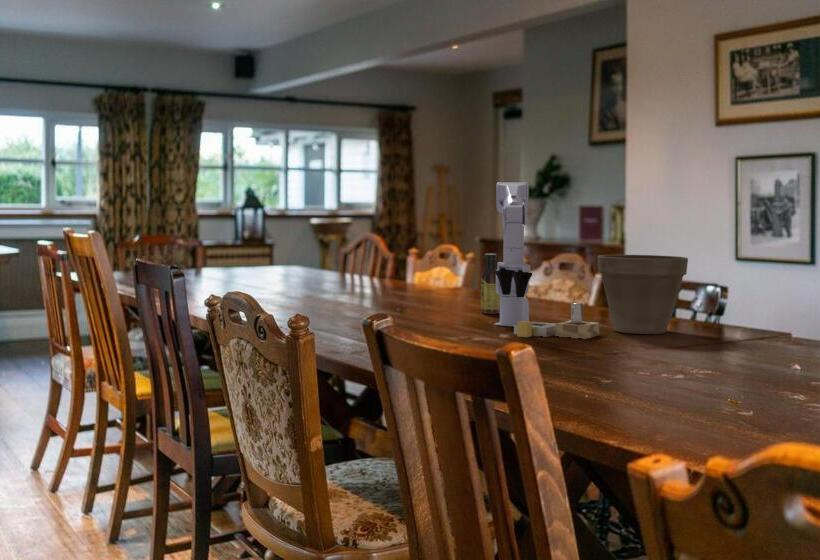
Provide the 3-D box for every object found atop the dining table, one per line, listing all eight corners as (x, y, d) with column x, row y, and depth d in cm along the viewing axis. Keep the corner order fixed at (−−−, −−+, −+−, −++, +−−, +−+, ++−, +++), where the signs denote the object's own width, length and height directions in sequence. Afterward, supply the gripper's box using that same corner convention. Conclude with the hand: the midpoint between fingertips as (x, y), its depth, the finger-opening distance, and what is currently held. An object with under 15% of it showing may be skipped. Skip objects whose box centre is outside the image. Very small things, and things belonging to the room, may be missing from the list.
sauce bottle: (483, 312, 319) (483, 253, 318) (501, 312, 317) (502, 253, 316) (478, 314, 313) (479, 254, 312) (497, 315, 311) (497, 254, 310)
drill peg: (574, 334, 265) (575, 302, 264) (584, 335, 263) (585, 303, 262) (568, 336, 263) (569, 303, 262) (578, 337, 261) (579, 304, 260)
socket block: (530, 330, 275) (530, 321, 274) (562, 332, 269) (562, 324, 269) (514, 334, 266) (514, 325, 266) (546, 337, 261) (546, 328, 260)
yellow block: (522, 335, 264) (522, 320, 264) (532, 336, 263) (532, 321, 262) (517, 336, 262) (517, 322, 261) (526, 337, 260) (527, 322, 260)
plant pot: (653, 324, 288) (654, 252, 286) (704, 334, 265) (706, 257, 263) (580, 327, 280) (581, 254, 278) (627, 339, 257) (628, 259, 255)
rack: (569, 332, 269) (569, 320, 269) (599, 335, 264) (599, 322, 264) (555, 336, 262) (555, 323, 262) (585, 339, 257) (585, 326, 256)
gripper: (488, 247, 273) (488, 294, 274) (515, 249, 260) (514, 298, 261) (509, 246, 276) (509, 293, 277) (536, 248, 263) (536, 297, 264)
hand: (513, 295), depth 269 cm, fingers open, 7 cm apart
